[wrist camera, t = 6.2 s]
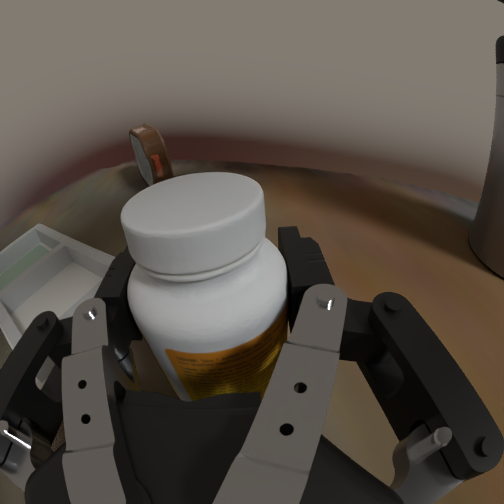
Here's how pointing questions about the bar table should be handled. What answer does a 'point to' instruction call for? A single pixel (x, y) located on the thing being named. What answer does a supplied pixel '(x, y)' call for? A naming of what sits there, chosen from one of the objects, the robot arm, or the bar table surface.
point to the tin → (151, 154)
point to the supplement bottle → (207, 283)
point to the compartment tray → (46, 281)
